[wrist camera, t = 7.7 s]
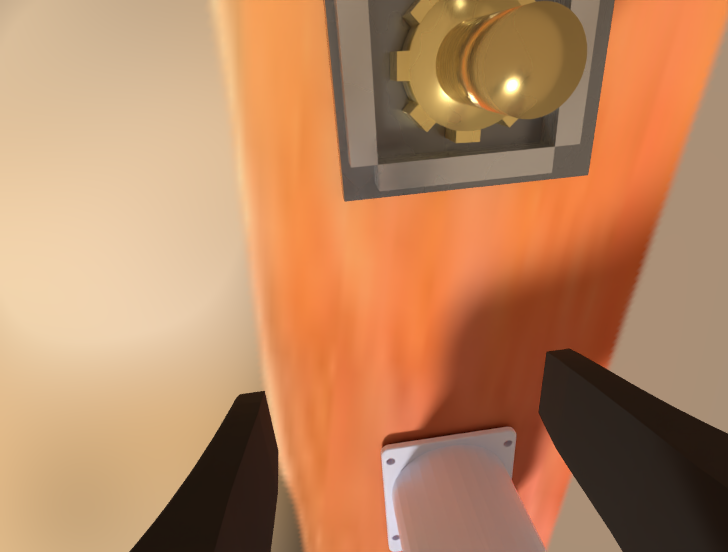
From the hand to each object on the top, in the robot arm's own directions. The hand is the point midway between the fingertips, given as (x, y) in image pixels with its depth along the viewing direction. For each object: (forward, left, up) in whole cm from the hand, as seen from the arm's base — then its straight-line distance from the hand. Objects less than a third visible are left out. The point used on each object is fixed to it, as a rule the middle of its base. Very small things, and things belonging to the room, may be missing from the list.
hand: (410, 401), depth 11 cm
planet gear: (+8, -4, -9) cm, 12 cm away
